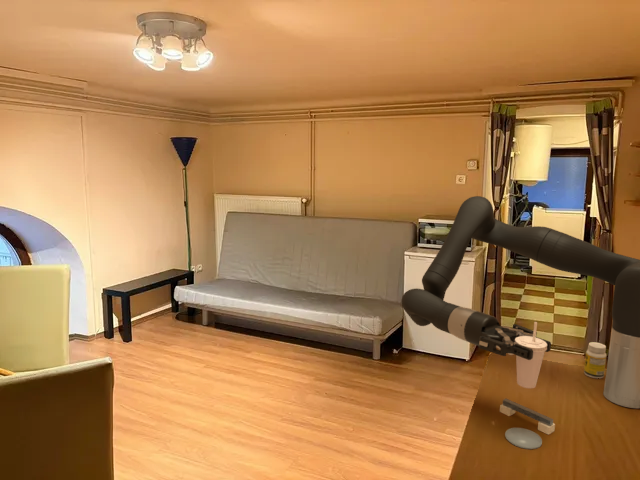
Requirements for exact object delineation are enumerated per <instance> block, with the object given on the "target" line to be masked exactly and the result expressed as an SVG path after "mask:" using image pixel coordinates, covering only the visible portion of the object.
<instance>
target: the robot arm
mask: <svg viewBox="0 0 640 480" xmlns="http://www.w3.org/2000/svg"><path fill="white" fill-rule="evenodd" d="M472 239H473V240H475V241H478V242H482V243H486V244H489V245H493V246H496V247H500V248H502V249H505V250H508V251H510V252H513V253H514V254H517V255H520V256H523V257H525V258H528V259H531V260H533V261H535V262H537V263H539V264H542V265H544V266H547V267H548V268H549V267H550V268H552V269H554V270H557V271H562V272H566V273H571V274H577V275H583V276H587V277H588V276H589V277H592V278H596V279H598V280H602V281H603V282H605V283H608V284H610V285H613V286H614V287H613V288H614V289H613V297H612V309H611V319H612V323H611V333H610V341H609V349H608V357H607V364H606V369H605V371H606V372H605V379H604V387H603V396H604V398H605V399H607V400H608V401H610V402H611V403H613V404H615V405H618V406H621V407H625V408H631V409H640V258H635V257H630V256H628V255H623V254H619V253H615V252H613V251H610V250H606V249H603V248H601V247H599V246H596V245H594V244H592V243H590V242H588V241H585V240H582V239H580V238H577V237H575V236H572V235H569V234H567V233H564V232H562V231H559V230H557V229H553V228H550V227H547V226H537V225H536V226H535V225H534V226H524V227H523V226H514V225H511V224H508V223H505V222H503V221H501V220H499V219H497V218H495V213H494V208H493V205H492V203H491V201H490V200H489V199H488V198H486V197H485V196H481V195H480V196H479V195H478V196H477V195H475V196H470V197H468V198H467V199H465V200H464V201H462V203H461V205H460V206H459V208H458V211H457V213H456V216H455V218H454V221H453V223H452V226H451V228H450V229H449V232H448V234H447V236H446V238H445V239H444V242H443V244H442V245H441V247H440V249H439V250H438V252H437V254H436V256H435V257H434V259H433V260H432V262H431V263H430V265H429V266H428V267H427V269H426V271H425V272H424V274H423V275H422V278H421V285H422V287H423V289H421V288H410V289H407V291H405V292H404V293H403V295H402V297H401V299H400V301H401V302H400V303H401V307H402V309H403V310H404V311H405V313H406V314H407V315H408V317H409V318H410V319H411V320H412V322H414V324H415V325H417V326H419V327H426V326H429V325H431V324H432V326H434V328H436V329H438V330H440V331H442V332H445V333H448V334H451V335H452V336H454V337H456V338H458V339H460V340H462V341H465V342H466V343H470V344H472V345H474V346H477V347H478V348H479V349H481V350H484V351H487V352H489V353H493V354H496V355H498V356H502V357H506V356H507V354H508V355H510V356H514V355H515V356H516V355H517V356H520V357H522V358H525V359H527V360H531V359H532V358H533V350H532V349H530V348H527V347H525V346H522V345H519V344H515V343H514V342H515V338H517V337H519V336H531V337H533V331H534V329H530V328H527V327H525V326H523V325H519V324H516V323H514V324H512V327H510V326H508V325H507V326H506V325H502V326H501V325H500V322H499V320H498V318H496V317H495V316H494V315H490V314H488V313H484V312H482V311H479V310H475V309H473V308H471V307H470V308H469V307H465V306H460V305H457V304H454V303H450V302H447V301H446V300H444V299H445V296H446V291H447V290H448V288H449V287H450V285H451V283H452V282H453V280H454V279H455V277H456V275H457V274H458V271H459V269H460V268H461V265H462V262H463V259H464V256H465V254H466V250H467V249H468V246H469V243H470V242H471V240H472ZM537 334H538V333H537V331H536V338H539V339H541V340H543V341H545V342H546V343H547V350H546V351H545V352H546V353H548V352H550V351H551V349H552V342H551V341H549V340H546V339H543V338H541V337H537ZM545 352H544V353H545Z"/></svg>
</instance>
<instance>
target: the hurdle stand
mask: <svg viewBox="0 0 640 480" xmlns="http://www.w3.org/2000/svg"><path fill="white" fill-rule="evenodd" d="M499 413H501V414H503V415H506V416H508V417H510V416H512V415H514V414H515V413H516V411H515V410H513V409H511V408H508V407H506V406H504V405H503V403H502V404H500V406H499ZM537 424H538V425H537V430H538V431H539V432H542V433H544V434H546V435H551V434H552V433H554V432H555V430H556V429H555V428H556V424H555V423H554V422H553V425H551V426H548V425H546V424H544V423H541V422H539V421H538V423H537Z"/></svg>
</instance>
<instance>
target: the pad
mask: <svg viewBox="0 0 640 480" xmlns="http://www.w3.org/2000/svg"><path fill="white" fill-rule="evenodd" d="M504 436H505V439H506V440H507V441H508V443H510V444H512V445H513V446H515V447H518V448H520V449H524V450H535V449H536V450H537V449H539V448H540V447H542V443H543V439H542V437H541V436H540V434H538V433H536V432H534V431H532V430H530V429H527V428H523V427H511V428H508V429H507V430H506V431H505V433H504Z"/></svg>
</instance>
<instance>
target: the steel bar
mask: <svg viewBox="0 0 640 480" xmlns="http://www.w3.org/2000/svg"><path fill="white" fill-rule="evenodd" d="M502 404H503V405H504V406H506V407H508V408H511V409H513V410H515V412H517V413H520V414H523V415H524V416H527V417H529V418H530V419H532V420H535V421H536V422H538V423H539V422H541V423H544V424H546V425H548V426H551V425H553V423H554V418H552V417H549V416H547V415H544V414H543V413H540V412H538V411H535V410H534V409H532V408H529V407H526V406H524V405H522V404H520V403H517V402H516V401H512V400H511V399H510V398H509V399H508V398H504V399H502Z"/></svg>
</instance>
